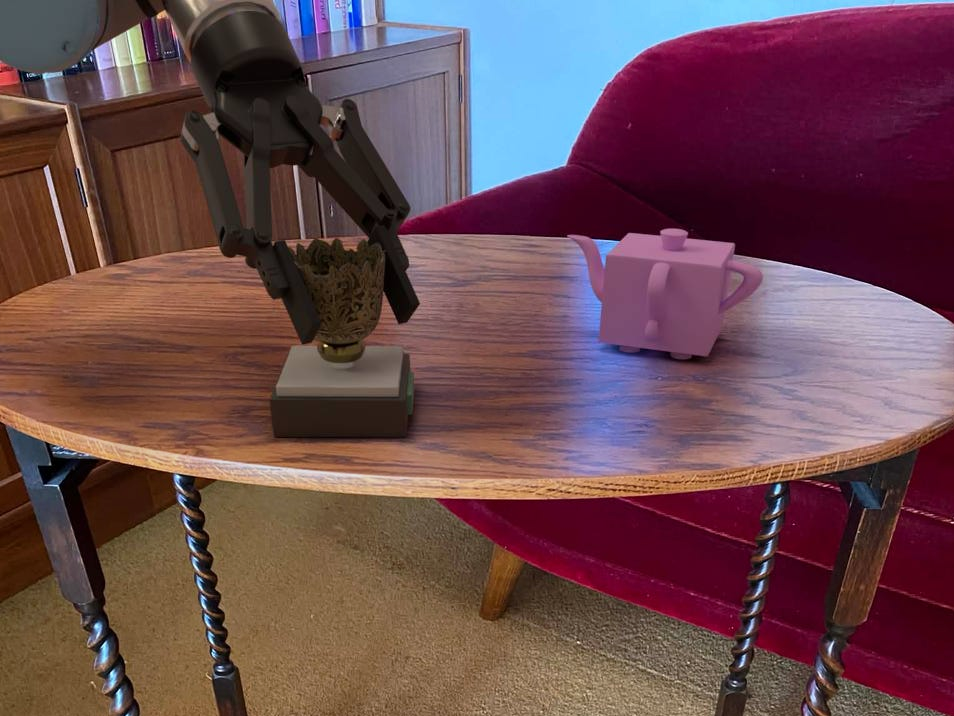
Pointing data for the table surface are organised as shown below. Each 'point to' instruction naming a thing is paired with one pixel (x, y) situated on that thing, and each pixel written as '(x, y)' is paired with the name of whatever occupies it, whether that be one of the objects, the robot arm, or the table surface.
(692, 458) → the table surface
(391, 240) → the robot arm
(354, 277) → the cup
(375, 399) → the scale
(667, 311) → the teapot
